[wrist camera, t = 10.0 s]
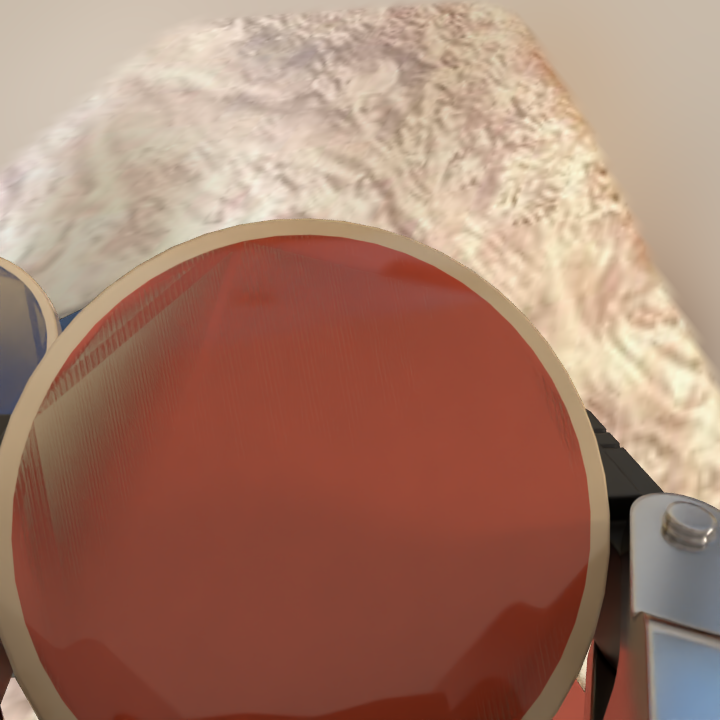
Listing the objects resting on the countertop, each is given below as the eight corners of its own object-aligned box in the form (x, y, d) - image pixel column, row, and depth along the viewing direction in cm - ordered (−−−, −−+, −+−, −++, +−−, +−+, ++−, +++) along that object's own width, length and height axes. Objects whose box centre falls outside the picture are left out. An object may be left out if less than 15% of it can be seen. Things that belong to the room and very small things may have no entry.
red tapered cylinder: (235, 775, 13) (190, 1055, 5) (84, 490, 14) (-127, 383, 6) (490, 581, 15) (729, 581, 7) (336, 347, 16) (398, 139, 8)
